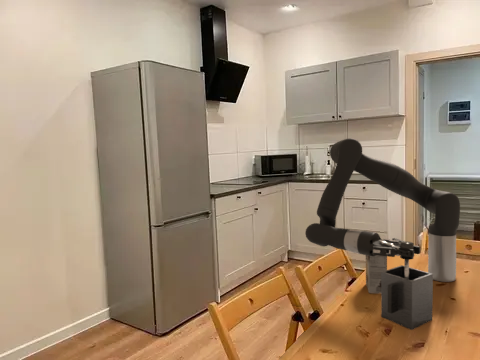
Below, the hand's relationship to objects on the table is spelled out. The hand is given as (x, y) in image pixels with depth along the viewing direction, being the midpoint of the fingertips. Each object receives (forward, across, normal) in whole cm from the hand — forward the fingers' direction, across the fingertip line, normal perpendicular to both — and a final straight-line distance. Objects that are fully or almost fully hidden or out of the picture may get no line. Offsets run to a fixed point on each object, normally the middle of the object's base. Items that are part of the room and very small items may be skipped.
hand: (416, 252), depth 108 cm
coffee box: (-21, +15, +21) cm, 33 cm away
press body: (-3, -1, +21) cm, 21 cm away
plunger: (-3, 0, +19) cm, 19 cm away
